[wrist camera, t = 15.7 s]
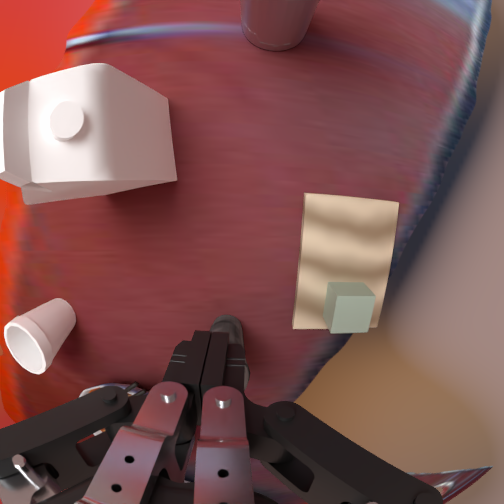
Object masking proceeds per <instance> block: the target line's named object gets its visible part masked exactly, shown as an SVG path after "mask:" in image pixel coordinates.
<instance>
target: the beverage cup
mask: <svg viewBox="0 0 504 504" xmlns="http://www.w3.org/2000/svg"><path fill="white" fill-rule="evenodd" d="M210 331H212V332H213V331H214V332H229V341H230V343H233V344H241V345H242V347H243V348H244V340H243V331H242V326H241V323H240V321H239V320H238V319H237V318H236V317H234V316H231V315H222V316H220V317H218V318H217V319H216V320H215V321H214V323H213V325H212V327H211V329H210ZM244 350H245V349H244ZM249 377H250V371H249V367H248V365H247V362H246V358H245V380H244V390H245V389H246V387H247V384H248V381H249Z"/></svg>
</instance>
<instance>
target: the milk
mask: <svg viewBox="0 0 504 504" xmlns="http://www.w3.org/2000/svg"><path fill="white" fill-rule="evenodd" d="M0 179H2V180H4V181H6V182H9V183H11V184H13V185H16V186H18V187H21V189H22V195H23V200H24V203H25V204H28V205H31V204H38V203H45V202H52V201H59V200H67V199H75V198H83V197H92V196H101V195H108V194H112V193H117V192H121V191H126V190H131V189H135V188H140V187H145V186H150V185H156V184H161V183H166V182H172V181H177V174H176V166H175V159H174V151H173V142H172V134H171V125H170V115H169V105H168V98H166V97H164V96H163V95H161V94H159V93H158V92H156V91H154V90H153V89H151V88H149V87H148V86H146V85H144V84H143V83H141V82H139V81H137V80H136V79H134V78H132V77H130V76H129V75H127V74H125V73H123V72H121V71H120V70H118V69H116V68H114V67H112V66H110V65H108V64H104V63H94V64H87V65H82V66H78V67H73V68H69V69H65V70H62V71H58V72H54V73H51V74H48V75H44V76H41V77H38V78H35V79H32V80H31V81H30V82H29V81H26V82H23V83H21V84H18V85H15V86H13V87H10V88H8V89H5V90H4V91H2V92H1V93H0Z"/></svg>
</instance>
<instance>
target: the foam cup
mask: <svg viewBox="0 0 504 504" xmlns="http://www.w3.org/2000/svg"><path fill="white" fill-rule="evenodd" d="M75 323H76V316H75V313H74V311H73V309H72V307H71V306H70V305H69V304H68V302H67V301H65V300H63V299H61V298H55V299H53V300H51V301H49V302H47V303H45V304H43V305H41V306H39V307H37V308H35V309H33V310H31V311H29V312H27V313H25V314H23V315H21V316H17V317H15V318H14V319H13V320H12V321H10V322H9V323H8V324H7V325H6V326H5V329H4V337H5V340H6V344H7V347H8V348H9V350H10V352H11V354H12V355H13V357H14V358H15V359H16V360H17V362H18V363H19V364H20V365H21V366H22V367H24V368H25V369H26V370H28V371H29V372H31V373H35V374H41V373H43V372H45V371H46V369H47V368H48V367H49V366H50V365H51V364H52V360H53V358H54V357H55V355H56V353H57V352H58V350H59V349H60V347H61V346H62V344H63V342H64V341H65V339H66V338H67V336H68V335H69V333H70V332H71V330H72V329H73V327H74V326H75Z"/></svg>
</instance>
